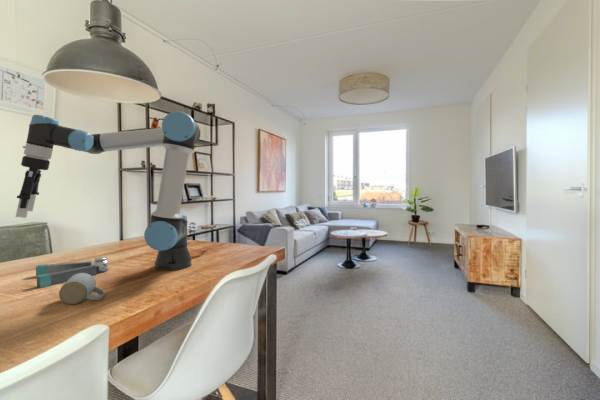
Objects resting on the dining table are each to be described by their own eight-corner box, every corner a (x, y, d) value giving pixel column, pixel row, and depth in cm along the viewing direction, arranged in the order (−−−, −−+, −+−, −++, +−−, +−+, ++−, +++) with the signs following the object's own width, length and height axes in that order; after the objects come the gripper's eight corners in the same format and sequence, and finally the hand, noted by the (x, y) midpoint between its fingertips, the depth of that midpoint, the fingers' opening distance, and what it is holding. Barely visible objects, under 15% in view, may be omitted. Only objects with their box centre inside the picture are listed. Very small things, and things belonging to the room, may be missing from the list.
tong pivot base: (104, 269, 124) (103, 258, 123) (112, 271, 121) (111, 260, 120) (32, 284, 103) (32, 272, 103) (40, 287, 100) (39, 275, 100)
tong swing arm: (107, 268, 124) (107, 255, 124) (105, 271, 119) (105, 258, 119) (38, 274, 114) (38, 261, 114) (33, 278, 109) (32, 264, 109)
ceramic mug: (57, 307, 84) (57, 281, 84) (67, 297, 92) (67, 273, 91) (100, 303, 88) (100, 278, 88) (107, 293, 96) (107, 270, 95)
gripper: (29, 154, 115) (17, 207, 115) (16, 155, 95) (2, 218, 95) (53, 159, 119) (42, 210, 119) (46, 160, 99) (32, 221, 99)
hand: (24, 213), depth 107 cm, fingers open, 13 cm apart
